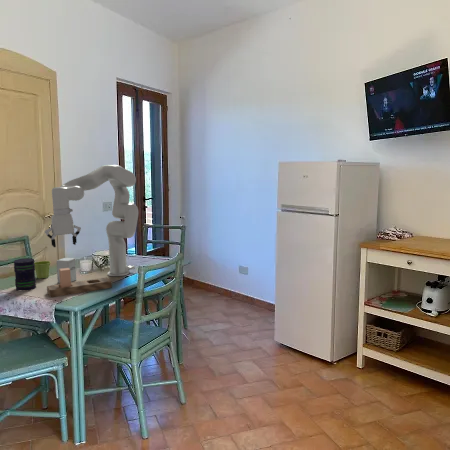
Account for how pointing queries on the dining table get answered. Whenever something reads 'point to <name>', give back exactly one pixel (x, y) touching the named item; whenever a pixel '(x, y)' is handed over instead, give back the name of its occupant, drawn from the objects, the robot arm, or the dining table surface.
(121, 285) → the dining table surface
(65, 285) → the peg
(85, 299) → the dining table surface
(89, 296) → the dining table surface
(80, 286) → the rail
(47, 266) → the plant pot
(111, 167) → the robot arm
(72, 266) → the supplement box
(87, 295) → the dining table surface
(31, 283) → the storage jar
